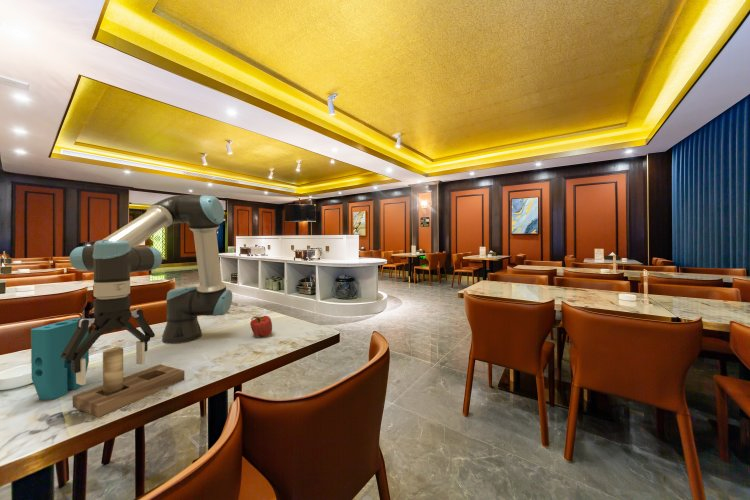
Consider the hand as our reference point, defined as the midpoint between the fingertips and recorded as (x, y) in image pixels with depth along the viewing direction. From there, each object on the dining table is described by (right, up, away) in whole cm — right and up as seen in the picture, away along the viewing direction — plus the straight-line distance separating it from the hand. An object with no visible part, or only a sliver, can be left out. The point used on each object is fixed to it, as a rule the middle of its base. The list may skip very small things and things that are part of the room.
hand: (113, 373), depth 81 cm
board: (+2, -8, +5) cm, 9 cm away
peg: (0, -8, 0) cm, 8 cm away
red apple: (+19, -7, +57) cm, 61 cm away
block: (-19, -8, +5) cm, 21 cm away
